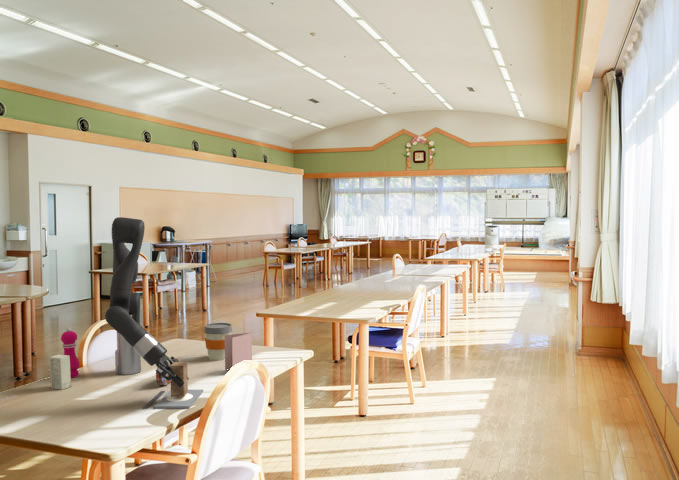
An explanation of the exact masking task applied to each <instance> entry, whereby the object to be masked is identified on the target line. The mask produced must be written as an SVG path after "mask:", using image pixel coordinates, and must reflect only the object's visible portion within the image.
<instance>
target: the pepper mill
mask: <svg viewBox="0 0 679 480" xmlns="http://www.w3.org/2000/svg"><path fill="white" fill-rule="evenodd" d="M60 340H61V342H62V348H63V355H69V356H70V374H71V379H72V378H76V377H78V376H79V374H80V373H79V370H78V369H79V368H80V360H79V358H78V356H77V355H76V349H75V348H76V347H77V342H76V341H77V340H78V335H77V333H76V332H75V331H73V330H72V328H71V327H67V328H66V331H64V332H63V333H62V334H61V336H60Z"/></svg>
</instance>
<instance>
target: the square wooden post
mask: <svg viewBox="0 0 679 480" xmlns="http://www.w3.org/2000/svg"><path fill="white" fill-rule="evenodd" d="M170 367H172V368H173V371H174V372H175V373H176V374H177V376H178V377H179V378H180V379H181V380H182V381H183V382H184V384H183V385H182V387H179V386H178V385H177V384H176V383H175V382H174V381H173V380H172V381H171V383H170V390H171V397H184V396H185V395H186V394H187V393H188V390H189V386H188V381H189V379H188V378H189V377H188V374H189V373H188V362H187V361H179V362H174V363H173V364H172V365H171V366H170Z"/></svg>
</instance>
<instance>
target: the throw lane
mask: <svg viewBox="0 0 679 480" xmlns="http://www.w3.org/2000/svg"><path fill="white" fill-rule="evenodd" d="M165 392H166V391H165V390H160V391H159V392H158V393H157V394H156V395H155V396H154V397H152V399H151V400H149V401H148V402H147V403H146V404H145V405H144V406H143V407H142V410H143V409H144V410H145V409H149V407H151V406H152V405H153V404H155V402H156V401H157V400H158V399H159V398H160V397H161V396H163V394H165ZM203 393H204V389H188V393H187V394H186V395H185V396H184V397H171V389H170V390H169V391H168V392H167V393H166V394H165V395H164V396H163V397H162V398H160V400H158V401H157V402H156V404H155V405H154V406H153V409H160V410H161V409H162V410H163V409H164V410H165V409H166V410H167V409H168V410H169V409H172V410H173V409H176V410H177V409H182V410H184V409H185V410H186V409H189V410H190V408H192V406H193V404H195V402H196V401H197V400H198V399H199V398H200V396H201V395H202V394H203Z"/></svg>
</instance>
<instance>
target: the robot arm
mask: <svg viewBox="0 0 679 480" xmlns="http://www.w3.org/2000/svg"><path fill="white" fill-rule="evenodd" d="M145 226H146V225H145V221H144V220H142V219H139V218H130V217H120V216H119V217H115V218H114V220H112V224H111V241H112V242H111V243H112V253H113V254H112V277H111V283H110V290H109V297H110V302H109V307H108V309H107V310H106V312H105V314H104V318H105V322H106V323H107V324H108V325H109V326H110V327H111V328H112V329H113V330H115V331H116V350H115V352H114V355H115V359H114V361H115V374H118V375H123V376H126V375H134V374H138V373H140V372H142V359H143V361H145V362H146V363H147V364H148V365H149V366H150V367H151V366H154V365H155V366H156V367H158V368H156V370H155V373H156V372H157V373H158V374H160V375H161V376H162V377H164V378H165V379H166V380H168V381H169V380H171V381H172V380H173V381H174V382H175V383H176V384H177V385H178V386H179V387H182V385H183V384H184V382H183V381H182V380H181V379H180V378H179V377H178V376H177V374H176V373H175V372H174V371H173V368H172V367H170V366H171V365H172V364H173V363H174V362H177V360H176V359H177V358H176V357H174V356H171V357H169V356H168V355H166V353H167V352H168V350H167V348H165V347H164V346H163V344H162V343H161V342H160V341H158V340H157V338H155V337H154V336H153V335H152V334H151V333H150V332H148V331H147V330H146V329H145V328H144V327H143V326H142V325H141V297H140V293H138V292H132V290H133V284H134V283H135V282H136V280H137V278H138V274H139V262H138V261H139V257H140V253H141V251H142V250H141V249H142V246H143V240H144V235H145ZM125 244H132V246H131V248H130V249H129V248H128V247H127V246H126V245H125ZM167 376H168V377H167ZM188 380H189V377H188Z"/></svg>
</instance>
